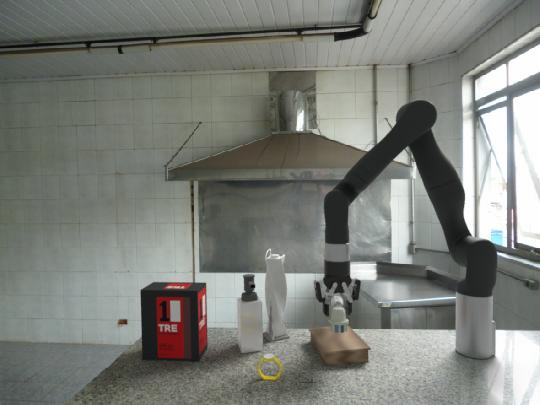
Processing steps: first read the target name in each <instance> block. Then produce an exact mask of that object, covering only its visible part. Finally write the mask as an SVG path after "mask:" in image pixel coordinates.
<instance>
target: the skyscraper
mask: <svg viewBox="0 0 540 405" xmlns="http://www.w3.org/2000/svg"><path fill="white" fill-rule="evenodd" d="M268 253H269V255H268ZM264 260H265V265H266V271H265V272H266V273H265V279H264V300H265V308H266V312H267V313H266V314H267V318H268V320H267V326H266V329H265V331H263V338H265V339H266V340H267V341H269V343H271V342H277V341H282V340H285V339H289V338H291V337H290V335H288V333H287V329H286V325H285V322H284V315H285V311H286V305H287V296H288V282H287V277H286V271H285V268H284V264H285V261H286V254H282V255H281V256H280V254H278V253H277V254H276V253H272V249H271V248H268V250H266V253H265V256H264Z"/></svg>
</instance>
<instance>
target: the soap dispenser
mask: <svg viewBox="0 0 540 405" xmlns="http://www.w3.org/2000/svg"><path fill="white" fill-rule="evenodd" d="M255 276H256V275H255V274H254V273H250V274H249V273H248V274H247V273H246V274H243V275H242V277H243V292H242V293H241V297H236V302H237V303H236V306H237V313H236V314H237V318H236V319H237V345H238V348H239V350H240V353H241V354H247V353H255V352H261V351H262V352H263V351H264V337H263V332H264V330H263V329H264V328H263V326H264V324H263V321H264V320H263V317H264V316H263V302H262V300H261V298H259V296H258V293H257V292H256V291H255V289H256V284H255Z"/></svg>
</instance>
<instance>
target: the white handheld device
mask: <svg viewBox="0 0 540 405" xmlns="http://www.w3.org/2000/svg"><path fill="white" fill-rule="evenodd" d="M329 306H330V307H331V315H330V318H328V323H329V327H330V330H331V331H332V332H336V333H344V332H345V331H348V329H347V325H349V323H350V322H349V319H348V318H347V317H346V316H347V314H346V313H345V308H344V306H345V301H344V298H343V297H342V295H340V293H336V294H333V295H332V297H331V298H330V301H329Z"/></svg>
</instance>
